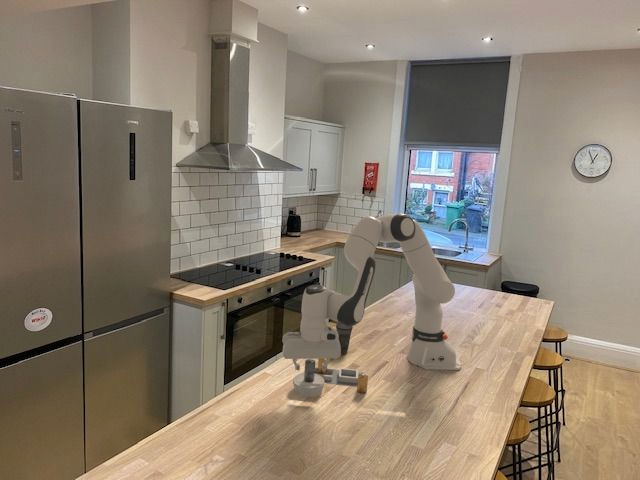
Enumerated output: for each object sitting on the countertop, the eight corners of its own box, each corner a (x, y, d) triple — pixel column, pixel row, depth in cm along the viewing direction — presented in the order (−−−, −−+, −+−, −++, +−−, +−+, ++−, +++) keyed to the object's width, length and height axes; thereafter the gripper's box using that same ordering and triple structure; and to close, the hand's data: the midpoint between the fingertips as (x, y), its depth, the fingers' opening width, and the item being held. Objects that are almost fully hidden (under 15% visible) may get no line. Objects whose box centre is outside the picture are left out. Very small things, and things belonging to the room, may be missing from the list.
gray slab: (363, 375, 183) (364, 367, 183) (364, 390, 172) (364, 382, 171) (307, 369, 185) (308, 361, 184) (304, 384, 173) (304, 375, 172)
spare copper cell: (326, 373, 180) (328, 355, 178) (326, 377, 176) (327, 359, 175) (317, 372, 180) (319, 354, 179) (316, 376, 177) (318, 358, 175)
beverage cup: (349, 356, 199) (353, 311, 196) (332, 354, 201) (336, 309, 197) (351, 350, 206) (355, 306, 203) (335, 347, 208) (338, 304, 204)
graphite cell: (314, 382, 164) (316, 361, 163) (304, 382, 164) (306, 362, 162) (313, 377, 168) (314, 357, 166) (303, 377, 167) (304, 357, 166)
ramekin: (300, 404, 159) (301, 390, 158) (287, 389, 169) (287, 375, 168) (329, 398, 164) (330, 384, 163) (314, 383, 174) (315, 370, 173)
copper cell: (366, 392, 170) (368, 372, 169) (366, 397, 167) (368, 377, 165) (356, 391, 171) (358, 371, 169) (356, 396, 167) (358, 376, 166)
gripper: (283, 335, 157) (281, 373, 160) (343, 335, 161) (340, 373, 163) (282, 328, 164) (280, 365, 166) (339, 328, 167) (336, 364, 170)
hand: (310, 369), depth 165 cm, fingers open, 8 cm apart
